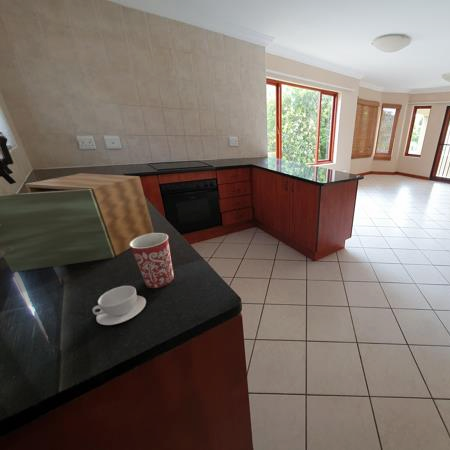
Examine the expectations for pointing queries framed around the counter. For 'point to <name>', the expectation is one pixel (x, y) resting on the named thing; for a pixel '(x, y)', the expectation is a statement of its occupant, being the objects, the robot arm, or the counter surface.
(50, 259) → the door
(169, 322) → the counter surface
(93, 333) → the counter surface
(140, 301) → the teacup
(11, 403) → the counter surface
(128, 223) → the cupboard
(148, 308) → the counter surface
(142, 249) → the mug
